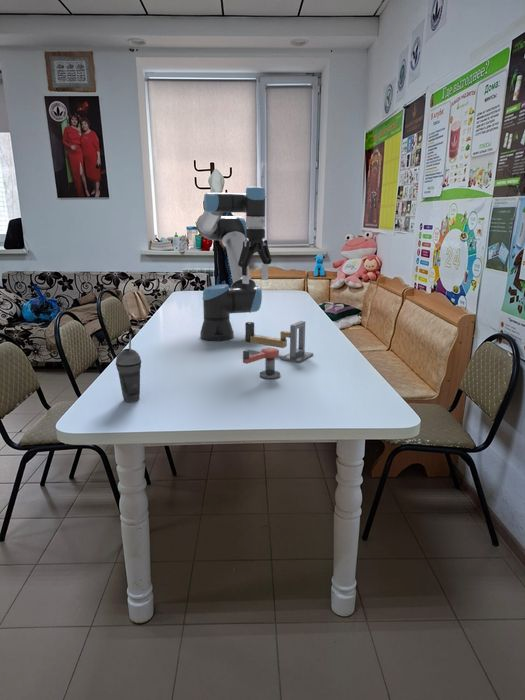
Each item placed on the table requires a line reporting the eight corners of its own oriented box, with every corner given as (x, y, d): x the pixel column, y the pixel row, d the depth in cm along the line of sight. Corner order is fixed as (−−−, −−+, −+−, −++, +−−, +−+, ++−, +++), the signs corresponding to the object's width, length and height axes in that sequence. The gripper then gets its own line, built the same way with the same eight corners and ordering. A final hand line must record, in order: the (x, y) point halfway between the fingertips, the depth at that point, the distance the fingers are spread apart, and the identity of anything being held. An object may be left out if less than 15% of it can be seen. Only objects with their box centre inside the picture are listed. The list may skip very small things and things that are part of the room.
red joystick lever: (250, 365, 141) (250, 353, 140) (237, 361, 145) (237, 350, 144) (282, 355, 152) (282, 344, 151) (269, 352, 156) (269, 341, 155)
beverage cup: (121, 395, 136) (116, 331, 131) (146, 394, 137) (141, 331, 131) (116, 404, 129) (109, 337, 124) (142, 403, 130) (136, 337, 124)
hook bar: (243, 341, 184) (243, 323, 182) (248, 339, 187) (248, 321, 185) (288, 349, 174) (288, 329, 171) (292, 347, 176) (292, 327, 174)
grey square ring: (280, 359, 171) (281, 324, 168) (295, 352, 181) (296, 319, 177) (299, 362, 167) (300, 327, 164) (313, 355, 177) (314, 321, 173)
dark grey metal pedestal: (255, 376, 153) (255, 357, 151) (266, 371, 158) (266, 352, 156) (273, 380, 149) (273, 360, 147) (283, 374, 155) (284, 355, 153)
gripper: (244, 229, 166) (244, 286, 172) (280, 227, 186) (279, 278, 192) (228, 228, 170) (229, 284, 176) (265, 227, 190) (264, 277, 196)
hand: (255, 281), depth 184 cm, fingers open, 13 cm apart
